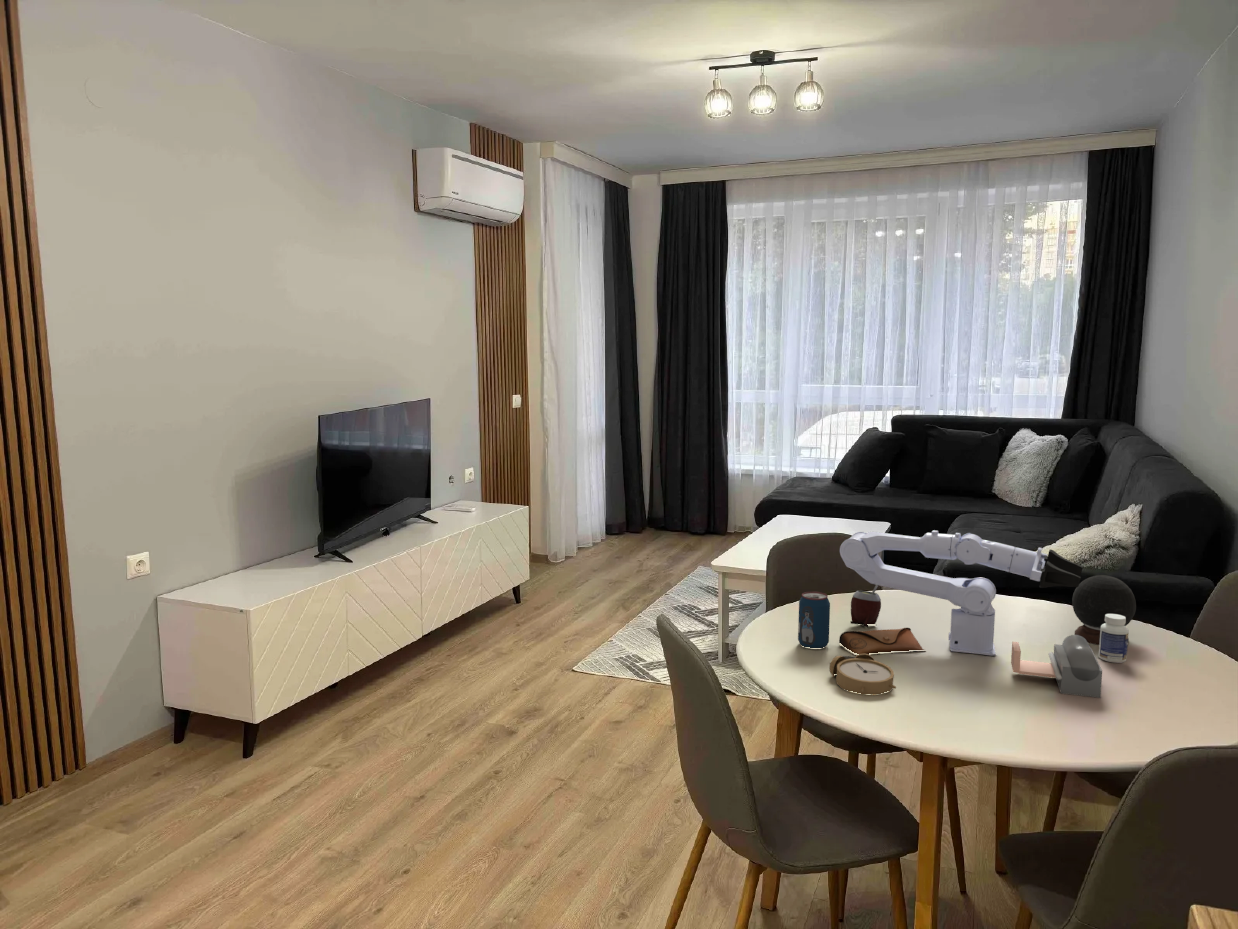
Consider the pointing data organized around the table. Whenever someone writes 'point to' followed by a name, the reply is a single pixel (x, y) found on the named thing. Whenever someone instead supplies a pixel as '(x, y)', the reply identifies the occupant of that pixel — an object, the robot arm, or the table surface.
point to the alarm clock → (862, 674)
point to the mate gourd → (865, 607)
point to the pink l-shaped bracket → (1029, 664)
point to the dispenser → (1076, 667)
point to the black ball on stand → (1101, 604)
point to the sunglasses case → (879, 641)
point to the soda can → (814, 620)
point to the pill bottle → (1113, 639)
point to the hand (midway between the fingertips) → (1080, 576)
